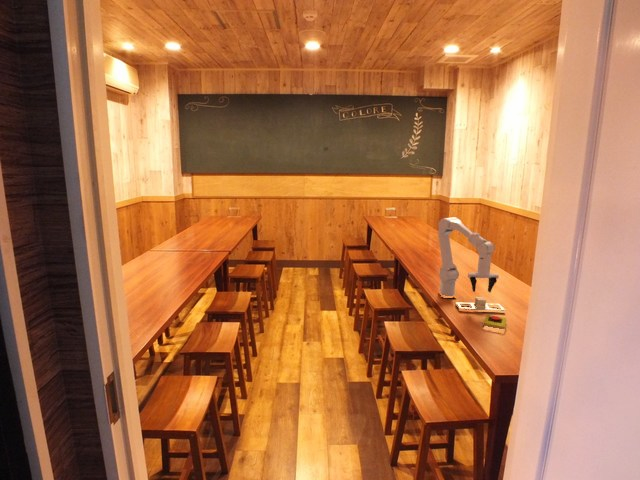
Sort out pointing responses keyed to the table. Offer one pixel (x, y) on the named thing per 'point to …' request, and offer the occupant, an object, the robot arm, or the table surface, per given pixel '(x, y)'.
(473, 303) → the tan slotted board
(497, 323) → the emergency button
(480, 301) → the birch peg
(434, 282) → the table surface
